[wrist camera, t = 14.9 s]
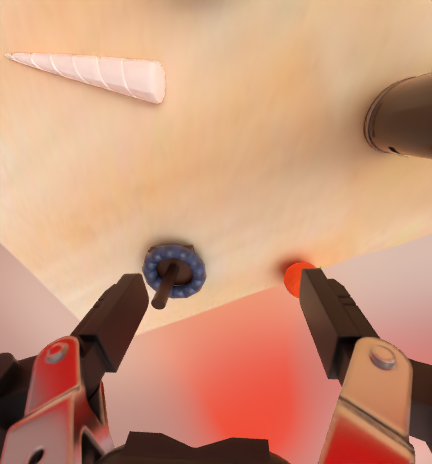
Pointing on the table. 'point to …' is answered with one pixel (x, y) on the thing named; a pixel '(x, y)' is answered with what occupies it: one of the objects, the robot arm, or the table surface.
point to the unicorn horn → (103, 72)
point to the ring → (182, 255)
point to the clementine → (295, 277)
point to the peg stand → (170, 278)
